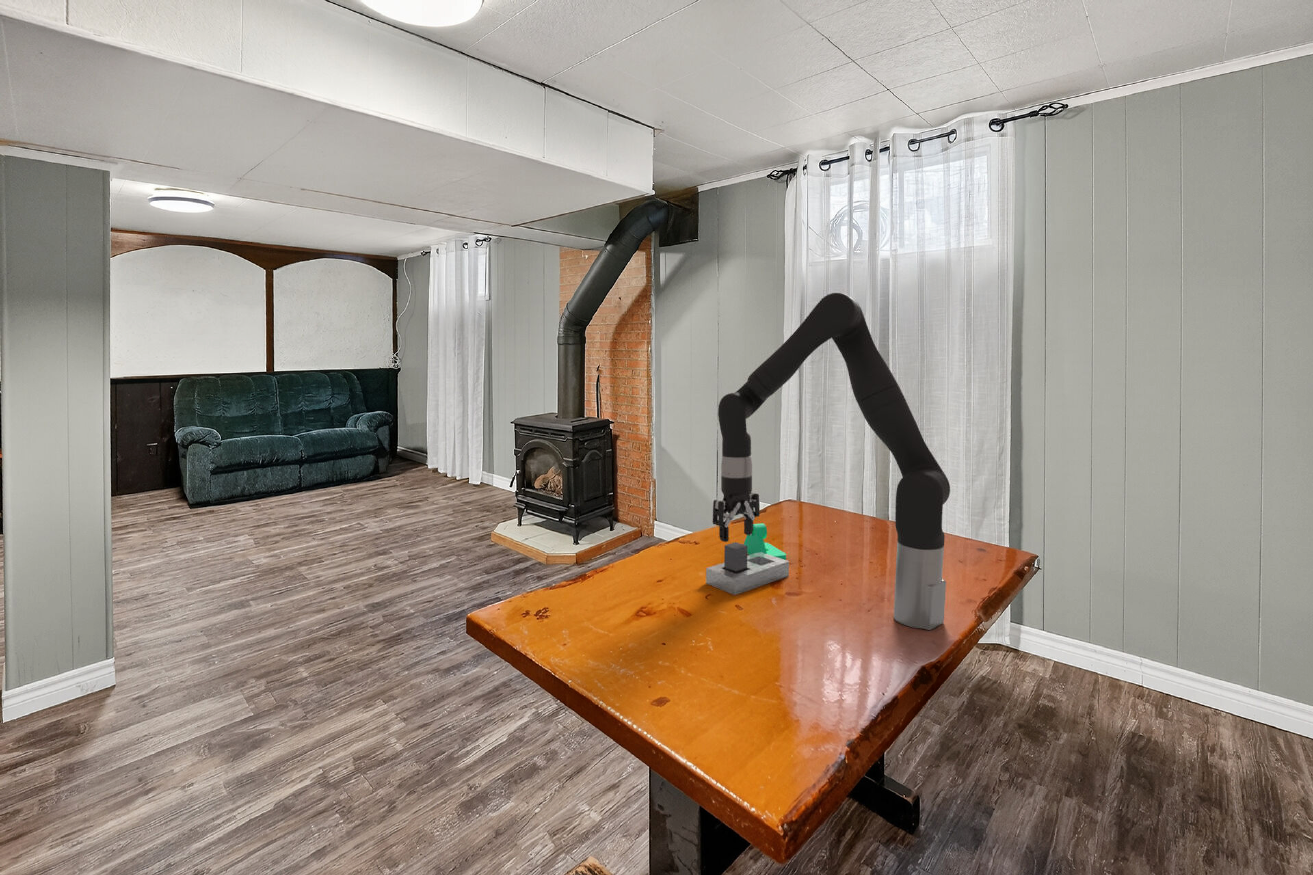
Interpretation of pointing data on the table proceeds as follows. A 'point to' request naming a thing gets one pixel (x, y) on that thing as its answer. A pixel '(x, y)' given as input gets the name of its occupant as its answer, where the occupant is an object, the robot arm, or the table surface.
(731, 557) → the peg
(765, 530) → the camera mount
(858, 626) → the table surface
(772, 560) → the rail
